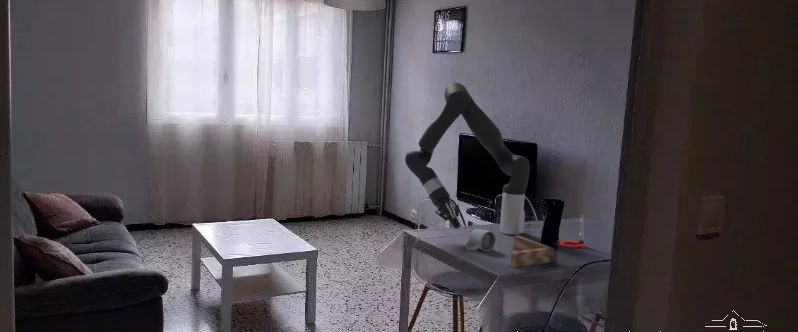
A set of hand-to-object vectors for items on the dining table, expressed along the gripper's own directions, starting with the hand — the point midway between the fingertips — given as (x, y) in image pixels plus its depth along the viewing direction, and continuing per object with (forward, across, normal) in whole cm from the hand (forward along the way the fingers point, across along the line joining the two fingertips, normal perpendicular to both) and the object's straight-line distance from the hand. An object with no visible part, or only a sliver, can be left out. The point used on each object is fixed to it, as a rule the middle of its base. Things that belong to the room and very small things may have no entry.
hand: (458, 227), depth 236 cm
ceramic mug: (+12, 0, +3) cm, 13 cm away
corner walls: (+22, -3, +13) cm, 26 cm away
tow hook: (+25, -36, +17) cm, 47 cm away
